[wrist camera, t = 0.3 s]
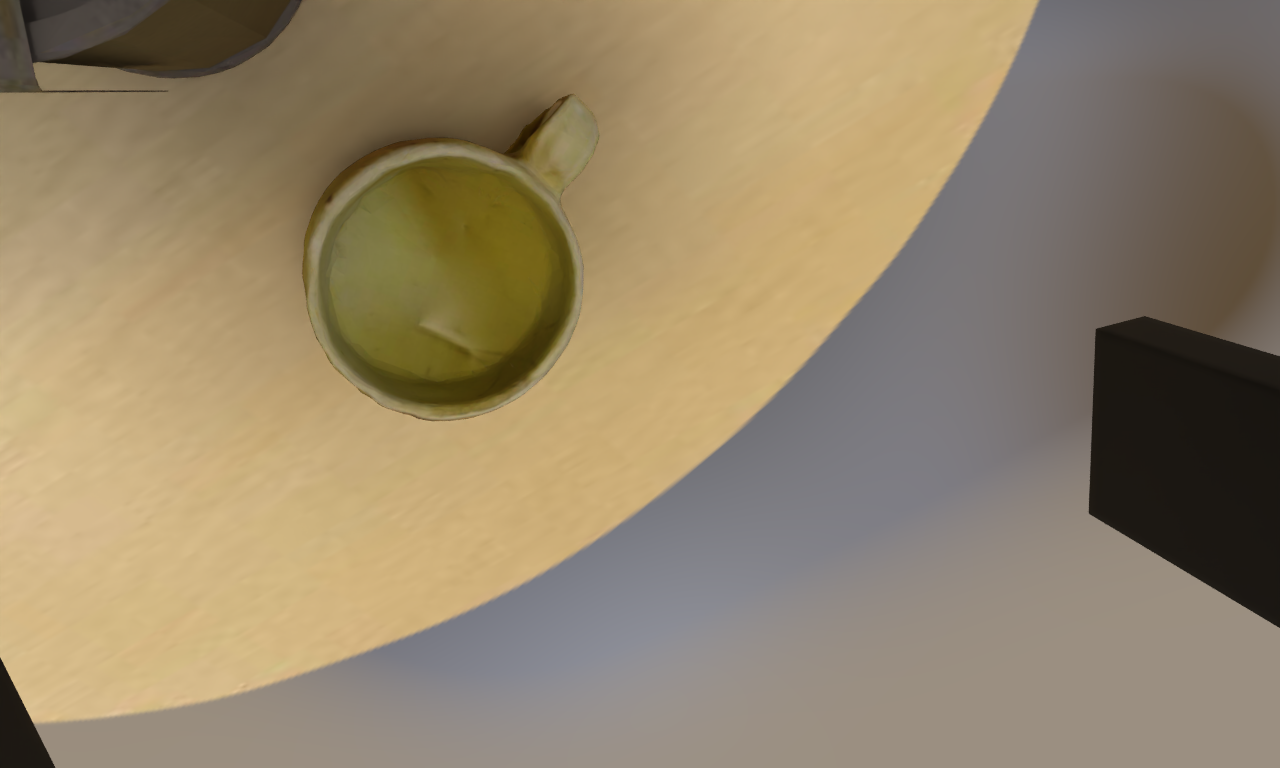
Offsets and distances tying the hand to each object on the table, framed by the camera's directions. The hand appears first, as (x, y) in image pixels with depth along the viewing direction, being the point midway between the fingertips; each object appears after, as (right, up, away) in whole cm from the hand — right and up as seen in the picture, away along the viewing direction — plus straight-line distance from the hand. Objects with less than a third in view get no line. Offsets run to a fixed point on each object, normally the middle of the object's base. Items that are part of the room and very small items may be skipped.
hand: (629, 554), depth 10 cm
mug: (-7, +8, +26) cm, 28 cm away
